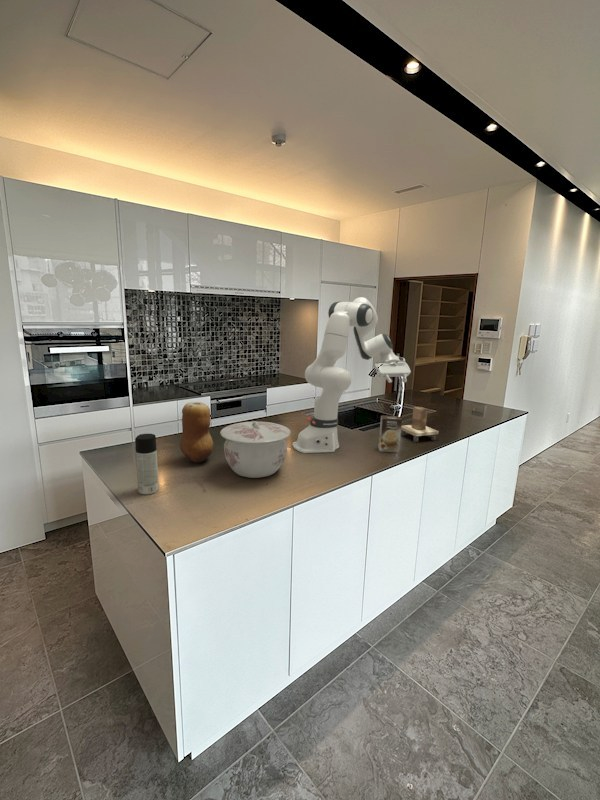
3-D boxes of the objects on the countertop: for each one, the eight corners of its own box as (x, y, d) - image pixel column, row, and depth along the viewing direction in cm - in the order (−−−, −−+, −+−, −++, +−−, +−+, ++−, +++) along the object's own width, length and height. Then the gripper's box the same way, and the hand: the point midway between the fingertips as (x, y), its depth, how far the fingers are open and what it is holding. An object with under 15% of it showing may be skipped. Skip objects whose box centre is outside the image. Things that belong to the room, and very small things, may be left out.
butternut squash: (220, 459, 165) (219, 402, 160) (197, 469, 154) (195, 408, 149) (196, 452, 172) (194, 398, 167) (173, 462, 161) (170, 403, 155)
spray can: (161, 486, 138) (158, 433, 134) (155, 495, 131) (151, 439, 127) (142, 486, 138) (139, 432, 133) (135, 495, 131) (131, 439, 127)
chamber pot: (264, 492, 136) (265, 436, 131) (205, 475, 149) (204, 423, 144) (303, 466, 160) (304, 418, 155) (249, 454, 172) (249, 409, 168)
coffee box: (379, 451, 180) (381, 418, 177) (378, 447, 186) (380, 415, 183) (399, 452, 179) (402, 419, 176) (397, 448, 186) (400, 416, 182)
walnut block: (417, 430, 199) (419, 409, 196) (411, 427, 203) (413, 407, 201) (425, 429, 200) (427, 408, 198) (419, 426, 205) (421, 406, 203)
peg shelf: (415, 443, 194) (416, 433, 193) (398, 434, 207) (399, 425, 206) (437, 440, 199) (438, 431, 198) (420, 432, 212) (421, 423, 211)
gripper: (375, 358, 212) (384, 379, 206) (406, 358, 220) (416, 378, 213) (371, 365, 217) (379, 385, 211) (401, 365, 225) (410, 384, 218)
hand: (398, 381), depth 212 cm, fingers open, 8 cm apart
